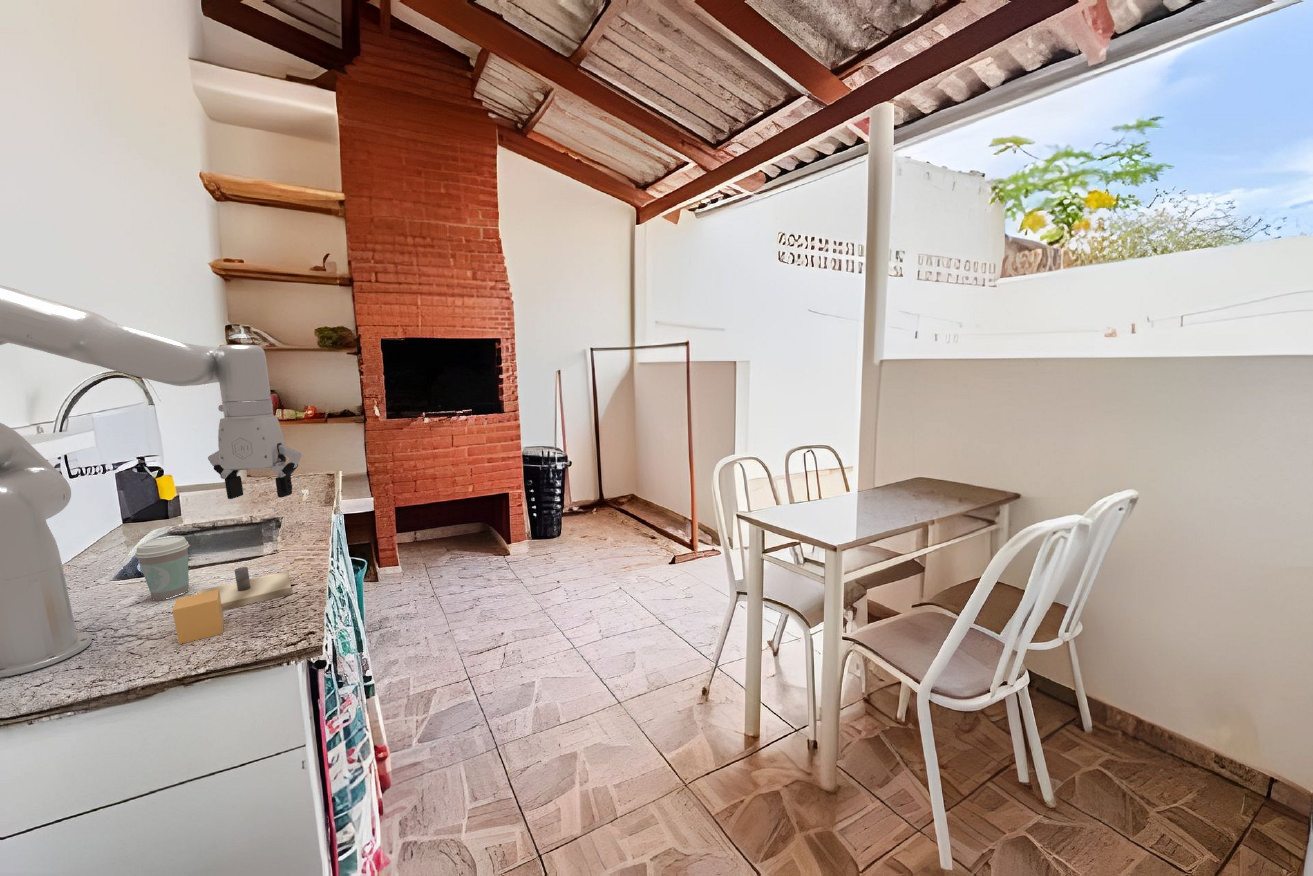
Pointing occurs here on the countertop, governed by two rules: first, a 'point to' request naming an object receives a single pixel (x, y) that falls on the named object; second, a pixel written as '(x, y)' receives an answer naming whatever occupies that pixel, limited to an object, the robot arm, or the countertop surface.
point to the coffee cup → (165, 566)
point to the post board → (252, 588)
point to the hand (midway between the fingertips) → (260, 496)
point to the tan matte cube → (198, 616)
